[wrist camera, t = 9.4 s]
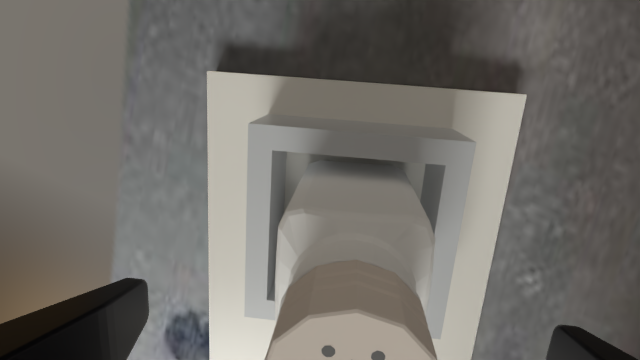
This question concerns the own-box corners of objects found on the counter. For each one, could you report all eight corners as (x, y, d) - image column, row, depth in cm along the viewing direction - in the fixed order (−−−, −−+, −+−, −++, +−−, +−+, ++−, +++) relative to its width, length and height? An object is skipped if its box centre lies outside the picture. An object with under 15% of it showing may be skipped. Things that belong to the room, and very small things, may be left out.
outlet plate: (443, 448, 20) (464, 538, 16) (217, 418, 21) (185, 497, 17) (516, 93, 15) (570, 100, 11) (215, 71, 16) (171, 70, 12)
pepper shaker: (302, 247, 17) (237, 462, 7) (306, 156, 15) (236, 275, 6) (396, 255, 16) (449, 489, 7) (407, 163, 15) (487, 299, 6)
